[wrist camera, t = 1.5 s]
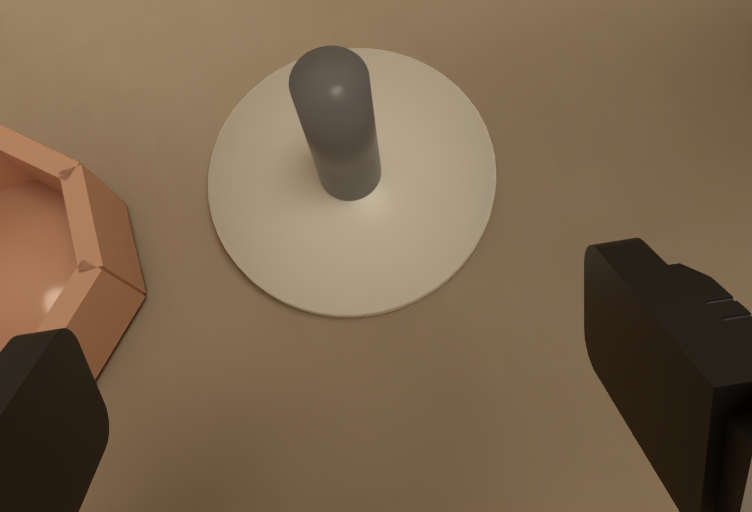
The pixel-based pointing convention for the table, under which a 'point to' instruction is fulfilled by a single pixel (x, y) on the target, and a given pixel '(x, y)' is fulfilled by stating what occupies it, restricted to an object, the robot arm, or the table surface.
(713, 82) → the table surface
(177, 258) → the table surface
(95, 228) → the bowl
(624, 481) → the table surface
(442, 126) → the lid
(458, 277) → the table surface
